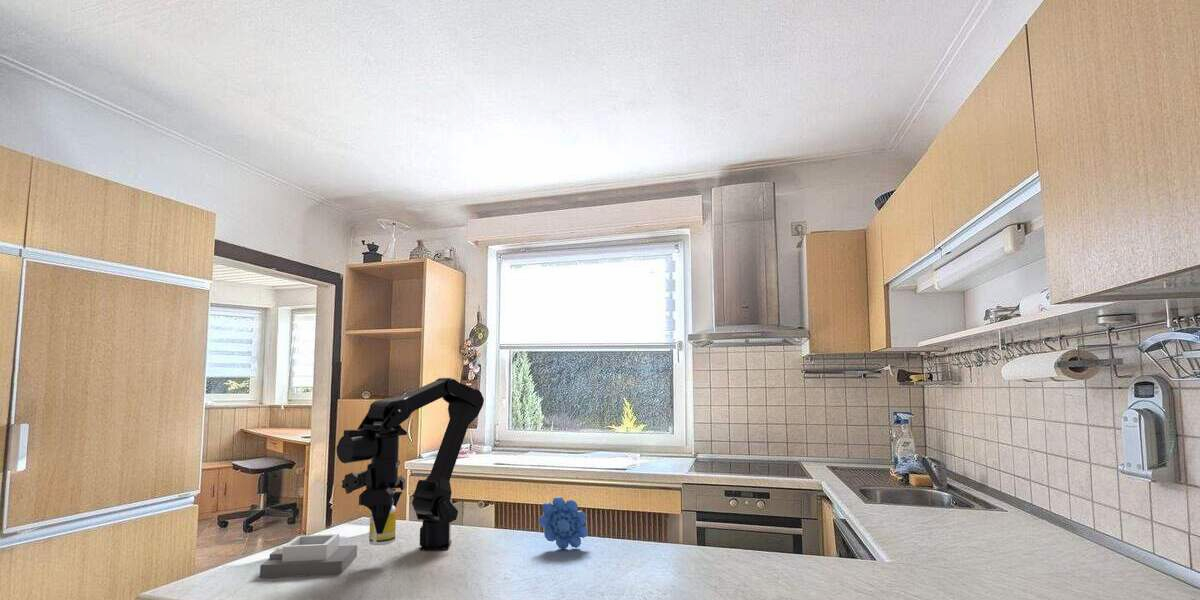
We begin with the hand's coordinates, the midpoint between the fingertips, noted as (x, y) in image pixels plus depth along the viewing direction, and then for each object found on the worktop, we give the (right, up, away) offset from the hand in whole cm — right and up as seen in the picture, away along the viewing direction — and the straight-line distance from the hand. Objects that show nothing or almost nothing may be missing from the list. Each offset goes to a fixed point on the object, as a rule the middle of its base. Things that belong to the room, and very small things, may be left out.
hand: (382, 530), depth 132 cm
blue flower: (+39, -8, +8) cm, 41 cm away
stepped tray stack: (-15, -7, -2) cm, 17 cm away
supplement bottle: (0, -3, 0) cm, 3 cm away
